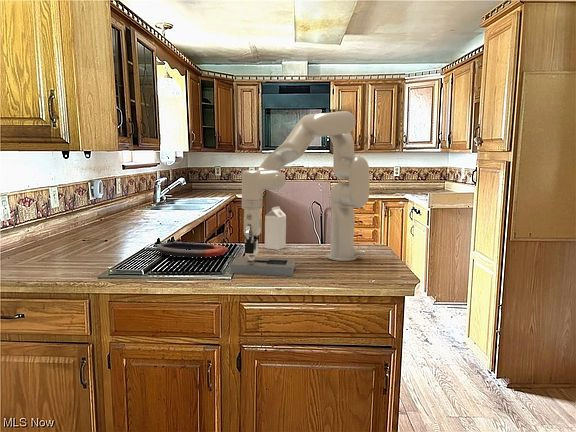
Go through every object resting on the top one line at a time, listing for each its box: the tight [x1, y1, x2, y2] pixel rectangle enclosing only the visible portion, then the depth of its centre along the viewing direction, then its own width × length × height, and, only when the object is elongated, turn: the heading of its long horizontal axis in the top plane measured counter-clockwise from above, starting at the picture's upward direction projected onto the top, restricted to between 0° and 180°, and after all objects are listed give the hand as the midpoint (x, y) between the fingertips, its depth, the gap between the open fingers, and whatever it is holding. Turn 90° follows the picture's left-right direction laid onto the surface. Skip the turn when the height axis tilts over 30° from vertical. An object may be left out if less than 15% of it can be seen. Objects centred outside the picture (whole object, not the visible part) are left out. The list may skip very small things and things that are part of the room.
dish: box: [156, 240, 229, 257], centre depth 179 cm, size 16×31×5 cm, turn 77°
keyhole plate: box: [229, 255, 296, 277], centre depth 159 cm, size 22×13×3 cm, turn 84°
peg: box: [244, 239, 259, 262], centre depth 159 cm, size 5×5×11 cm
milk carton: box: [264, 205, 287, 251], centre depth 196 cm, size 7×7×19 cm
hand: (251, 250), depth 159 cm, fingers open, 9 cm apart
